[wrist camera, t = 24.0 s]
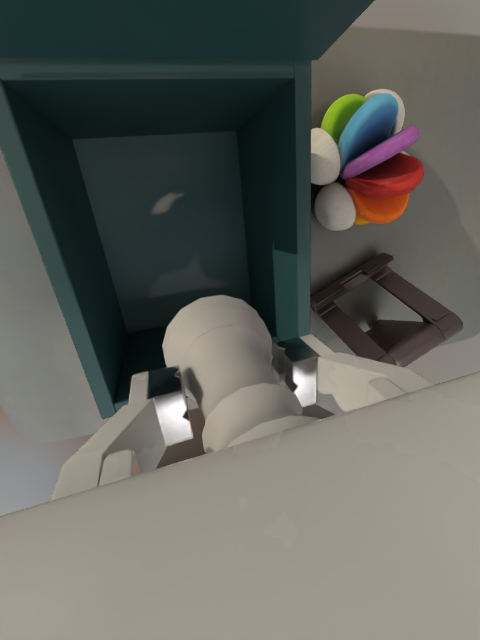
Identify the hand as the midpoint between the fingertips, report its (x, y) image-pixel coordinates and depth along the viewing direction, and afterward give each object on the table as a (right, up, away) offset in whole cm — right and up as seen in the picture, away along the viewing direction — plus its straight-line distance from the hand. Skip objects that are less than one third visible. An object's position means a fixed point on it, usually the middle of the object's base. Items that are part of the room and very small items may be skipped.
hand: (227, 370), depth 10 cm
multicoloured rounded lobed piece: (+9, +15, +15) cm, 23 cm away
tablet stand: (+12, +4, +20) cm, 24 cm away
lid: (0, +9, -7) cm, 11 cm away
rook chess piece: (-1, +1, +3) cm, 3 cm away
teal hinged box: (-5, +8, +13) cm, 16 cm away
